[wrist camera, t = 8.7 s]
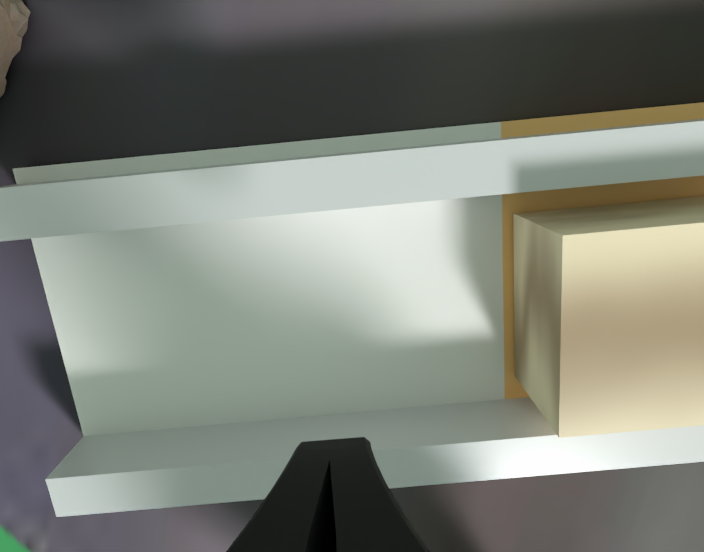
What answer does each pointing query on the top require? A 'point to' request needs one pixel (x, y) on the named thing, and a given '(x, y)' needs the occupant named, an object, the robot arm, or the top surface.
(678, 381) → the block
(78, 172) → the chute
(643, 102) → the top surface
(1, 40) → the brick
